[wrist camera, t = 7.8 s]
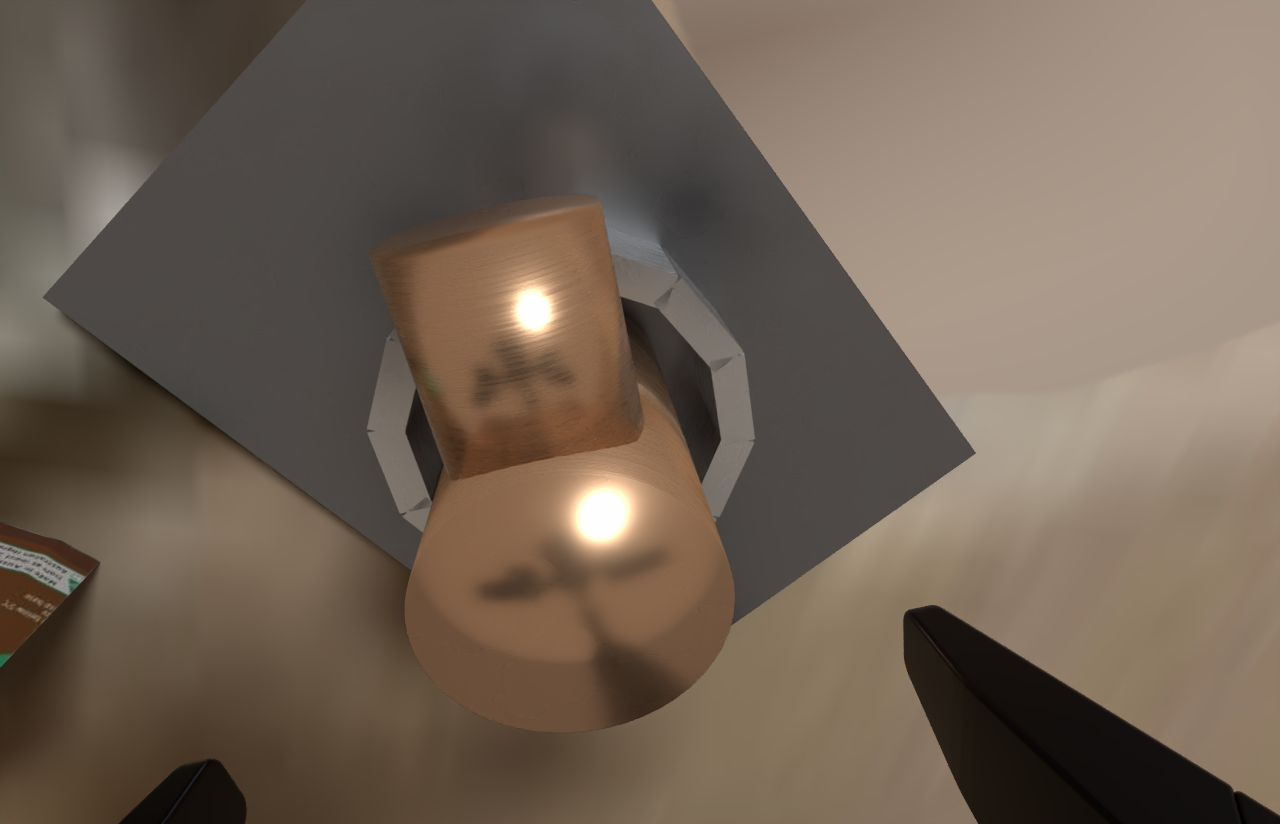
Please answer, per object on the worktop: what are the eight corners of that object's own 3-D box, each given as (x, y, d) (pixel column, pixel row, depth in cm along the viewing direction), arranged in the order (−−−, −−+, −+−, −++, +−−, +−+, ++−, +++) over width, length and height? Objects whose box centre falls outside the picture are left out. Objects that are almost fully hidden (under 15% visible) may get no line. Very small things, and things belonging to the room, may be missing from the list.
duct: (959, 437, 22) (1037, 507, 18) (603, 691, 25) (610, 793, 21) (501, -196, 14) (480, -291, 11) (69, 286, 17) (-60, 339, 14)
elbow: (618, 149, 16) (677, 215, 8) (672, 446, 20) (751, 697, 12) (408, 192, 16) (258, 300, 8) (501, 482, 20) (460, 760, 12)
